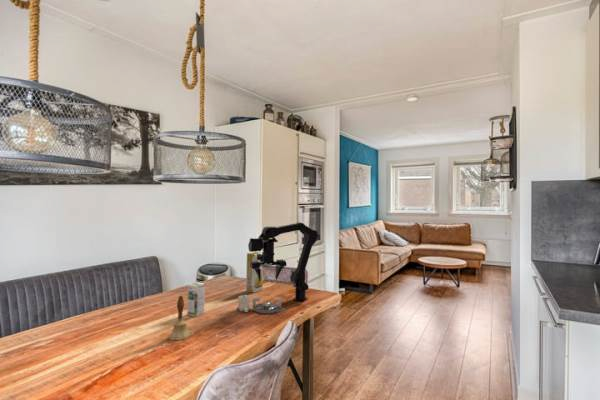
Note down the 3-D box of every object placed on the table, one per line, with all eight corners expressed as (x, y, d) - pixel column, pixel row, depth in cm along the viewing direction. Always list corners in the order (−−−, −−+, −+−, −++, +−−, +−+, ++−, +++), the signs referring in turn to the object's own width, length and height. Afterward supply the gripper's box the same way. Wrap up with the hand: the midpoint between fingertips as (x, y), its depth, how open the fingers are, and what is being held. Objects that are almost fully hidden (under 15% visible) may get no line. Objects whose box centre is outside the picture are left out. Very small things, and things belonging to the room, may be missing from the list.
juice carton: (254, 293, 185) (255, 252, 185) (244, 291, 189) (244, 251, 189) (264, 289, 193) (264, 250, 193) (254, 287, 197) (254, 249, 197)
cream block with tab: (236, 306, 161) (237, 294, 161) (245, 305, 163) (245, 293, 163) (242, 312, 152) (242, 299, 152) (250, 311, 154) (251, 298, 154)
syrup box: (186, 315, 149) (187, 284, 149) (196, 311, 154) (196, 281, 154) (195, 317, 147) (196, 286, 147) (204, 313, 152) (205, 283, 152)
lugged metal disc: (251, 314, 151) (252, 303, 151) (254, 304, 165) (254, 294, 165) (281, 314, 152) (281, 303, 152) (280, 304, 166) (281, 294, 166)
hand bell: (169, 333, 129) (169, 294, 129) (190, 330, 132) (191, 292, 132) (168, 342, 121) (169, 300, 121) (191, 338, 124) (191, 298, 124)
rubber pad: (242, 306, 163) (242, 305, 163) (253, 308, 159) (253, 307, 159) (233, 310, 156) (233, 309, 156) (245, 312, 153) (245, 312, 153)
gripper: (279, 247, 178) (279, 275, 178) (247, 249, 171) (246, 278, 170) (287, 250, 168) (286, 280, 168) (252, 252, 160) (252, 283, 160)
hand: (267, 280), depth 167 cm, fingers open, 9 cm apart
